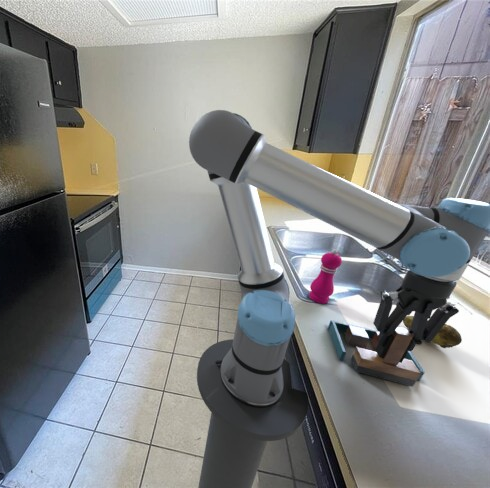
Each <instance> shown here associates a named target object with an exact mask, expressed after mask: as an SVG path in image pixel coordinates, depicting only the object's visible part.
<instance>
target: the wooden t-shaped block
mask: <svg viewBox="0 0 490 488" xmlns="http://www.w3.org/2000/svg"><path fill="white" fill-rule="evenodd" d="M392 336H393V337H394V339H393V341H392V343H391V345H390V346H389V348H388V350H387V352H386V354H385V356H384V358H380V357H379V355H378V353H377V352H376V351H375V350H372V349H367V348H365V349H363V348H359V347H355V349H354V351H353V353H352V356H351V358H350V361H351V364H352V366H353V369H354V371H355V372H357V373H361V374H364V375H368V376H372V377H375V378H380V379H383V380H387V381H391V382H395V383H398V384H402V385H404V386H405V385H406V386H408V387H414V385H415V383H416V382H417V381H418V380H417V379H418V377H419V376H420V374H421V373H420V371H419V370H418V368H417V367H416V365H415V364H414V362H413V361H412V360H409V359H403V361H402V363H400V362H399V361H400V359H401V358H402V356H403V354H404V352H405V350H406V349H407V347H408V345H409V343H410V341H411V340H412V338H413V336H412V335H411V334H410V332H409V329H408V328H407V327H403V326H398V327H397V328H396V330H395V331H394V332H393V333H392Z"/></svg>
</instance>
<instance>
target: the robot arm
mask: <svg viewBox="0 0 490 488" xmlns="http://www.w3.org/2000/svg"><path fill="white" fill-rule="evenodd" d="M188 138H189V139H188V147H189V152H190V154H191V157H192V159H193V160H194V162H195V163H196V164H197V165H198V166H199V167H201V168H202V169H204V170H205V171H207V175H208V178H209V181H210V182H212V183H213V184H215V185H217V187H218V190H219V193H220V194H219V195H220V198H221V202H222V205H223V208H224V212H225V216H226V219H227V224H228V227H229V230H230V234H231V237H232V241H233V245H234V248H235V252H236V255H237V259H238V263H239V266H240V269H241V270H239V272H238V273H237V280H238V284H239V287H240V291H241V295H242V298H241V302H240V303H239V306H238V308H237V319H236V324H235V329H234V333H233V344H232V348H231V349H230V350H229V352H228V353H227V354H226V356H225V357H224V359H223V360H217V361H215V363H216V364H221V367H220V378H221V381H222V383H223V385H224V387H225V389H226V390H227V391H228V392H229V394H230V395H231V396H233V397H234V398H235V399H236V400H238V401H239V402H241V403H243V404H245V405H248V406H251V407H255V408H266V407H270V406H272V405H274V404H276V403H277V402H278V401H279V399H280V397H281V395H282V392H283V385H284V383H283V380H284V379H283V375H282V368H281V365H282V362H283V359H285V355H286V353H287V350H288V347H289V345H290V340H291V337H292V335H293V333H294V330H295V327H296V312H295V309H294V307H293V305H292V304H291V303H290V286H289V283H288V282H287V279H286V277H285V274H284V270H283V267H282V265H280V264H279V263H276V262H275V259H274V254H273V251H272V246H271V241H270V238H269V233H268V230H267V225H266V221H265V217H264V214H263V213H264V212H263V210H262V205H261V201H260V196H259V193H258V190H260V191H262V192H264V193H266V194H268V195H270V196H272V197H274V198H275V199H277V200H280V201H282V202H284V203H286V204H287V205H290V206H292V207H293V208H295V209H297V210H300V211H301V212H304V213H306V214H308V215H310V216H311V217H314V218H315V219H316V218H317V220H320V221H322V222H324V223H325V224H328V225H330V226H332V227H333V228H336V229H338V230H340V231H341V232H344V233H346V234H348V235H349V236H352V237H354V238H356V239H358V240H360V241H361V242H364V243H366V244H367V245H370V246H372V247H374V248H376V249H377V250H378V251H381V252H382V253H385V254H386V255H389V256H391V257H393V258H395V259H396V260H398V261H399V262H400V263H401V265H402V266H403V267H405V268H406V269H407V271H406V272H405V275H404V276H403V279H402V282H401V285H400V286H399V287H398V288H396V289H395V291H389V292H388V291H386V290H381V291H380V294H379V295H380V298H381V300H380V301H379V305H378V307H377V311H376V314H375V317H374V320H373V325H374V326H375V330H377V331H379V332H380V333H379V335H378V337H377V341H378V345H377V347H376V349H374V351H375V350H376V352H377V353H378V355H379V357H380V358H384V356H385V354H386V352H387V350H388V348H389V346H390V345H391V343H392V341H393V339H394V337H393V336H392V333H393V332H394V331H395V330H396V328H397V327H400V325H401V324H402V323H403V320H404V318H405V317H406V316H411V314H412V313H413V312H414V314H413V316H414V317H413V320H412V324H411V327H410V330H409V329H408V331H409V332H410V334H411V335H412V336H413V338H412V340H411V341H410V343H409V345H408V347H407V349H406V350H405V352H404V354H403V356H402V358H401V359H400V361H399V362H400V363H402V361H403V359H404V358H405V356H406V354H407V353H408V351H411V352H413V351H414V349H415V347H416V346H419V345H420V346H421V345H422V344H423V342H424V343H432V342H431V341H432V340H433V339H434V337H435V336H436V335H437V333H438V332H439V331H440V330H441V328H442V327H443V326H444V325H445V324H447V323H448V321H449V320H450V318H452V317H454V316H455V315H457V314H458V313H459V312H460V310H459V309H458V308H457V307H456V306H455V305H454V304H453V303H451V302H448V299H447V298H450V296H451V295H452V294H453V292H454V289H455V288H456V286H457V285H458V282H457V281H460V280H461V278H462V276H463V275H464V273H465V271H466V269H467V267H469V264H470V263H471V261H472V259H473V258H474V256H475V255H476V254H477V252H478V250H479V249H480V247H481V245H482V244H483V243H484V240H485V239H486V237H487V235H488V234H489V233H490V203H489V202H484V201H480V200H475V199H467V198H459V197H458V198H457V197H455V198H454V197H447V198H444V199H442V201H440V203H439V204H438V206H437V207H434V206H433V207H427V206H421V205H420V206H419V205H411V204H403V203H396V202H393V201H390V200H389V199H387V198H384V197H382V196H380V195H378V194H376V193H373V192H371V191H370V190H367V189H366V188H363V187H362V186H359V185H357V184H355V183H353V182H350V181H348V180H346V179H344V178H342V177H340V176H337V175H336V174H333V173H331V172H329V171H327V170H324V169H323V168H320V167H319V166H316V165H314V164H313V163H310V162H308V161H306V160H303V159H302V158H299V157H298V156H296V155H293V154H291V153H289V152H286V151H285V150H282V149H280V148H278V147H276V146H274V145H271V144H269V143H268V142H267V140H266V135H265V134H263V133H261V132H259V131H256V130H255V129H253V128H252V126H251V124H250V122H249V121H248V120H247V119H246V118H245V117H244V116H242V115H240V114H238V113H235V112H232V111H229V110H225V109H216V110H212V111H209V112H206V113H205V114H203V115H201V117H199V118H198V119H197V120H196V122H195V123H194V124H193V126H192V129H191V130H190V134H189V137H188ZM396 299H398V301H397V303H396V304H395V308H394V309H393V303H395V302H396ZM392 309H393V310H392ZM391 311H392V312H391ZM433 311H434V312H433ZM427 320H428V321H427Z"/></svg>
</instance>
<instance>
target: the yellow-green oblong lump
mask: <svg viewBox="0 0 490 488" xmlns="http://www.w3.org/2000/svg"><path fill="white" fill-rule="evenodd" d="M413 317H414V315H407V316H406V317H405V318H404V320H403V321H402V323H403V325H404V326H405V328H406V329H407V330H408V331H409V330H410V327H411V324H412V320H413ZM428 320H429V319H428ZM428 320H427V321H428ZM462 341H463V338H462V335H461V333H460V332H459V331H458V329H456V328H455V327H454V326H452V325H450V324H447V323H445V325H444V326H443V327H442V328H441V330H440V331H439V332H438V333H437V335H436V336H435V337H434V339H433V340H432V341H431V342H430V343H434V344H436V346H437V345H438V346H439V347H440V348H442V349H447V348H448V349H449V348H453V347H456V346H459V345H460V344H461V343H462Z"/></svg>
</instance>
